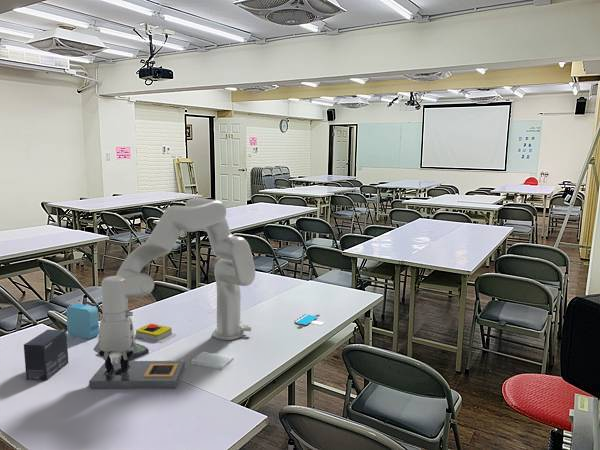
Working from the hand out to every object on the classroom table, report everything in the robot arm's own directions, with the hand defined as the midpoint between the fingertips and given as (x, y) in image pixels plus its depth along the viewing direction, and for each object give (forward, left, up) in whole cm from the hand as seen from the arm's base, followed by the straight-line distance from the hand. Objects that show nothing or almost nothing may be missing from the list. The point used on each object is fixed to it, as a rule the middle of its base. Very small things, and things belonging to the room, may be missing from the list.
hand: (117, 369), depth 143 cm
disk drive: (+4, -19, -4) cm, 20 cm away
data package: (+25, -35, -3) cm, 44 cm away
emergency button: (-3, -36, -4) cm, 36 cm away
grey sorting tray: (-7, 0, -3) cm, 8 cm away
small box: (+24, -5, -3) cm, 25 cm away
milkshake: (0, 0, -3) cm, 3 cm away
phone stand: (-67, -52, -4) cm, 85 cm away
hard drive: (-29, -12, -4) cm, 31 cm away
